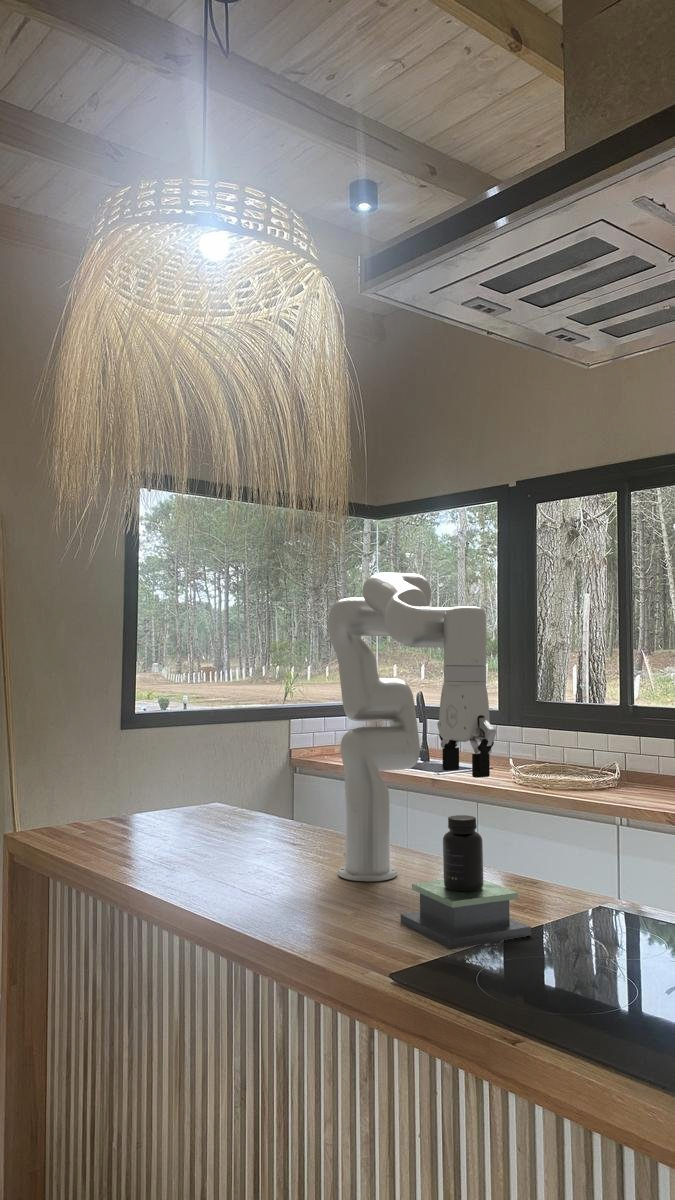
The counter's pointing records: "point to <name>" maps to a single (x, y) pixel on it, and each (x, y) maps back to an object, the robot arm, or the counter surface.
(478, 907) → the stand
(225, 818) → the counter surface
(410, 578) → the robot arm
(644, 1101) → the counter surface
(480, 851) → the supplement bottle
